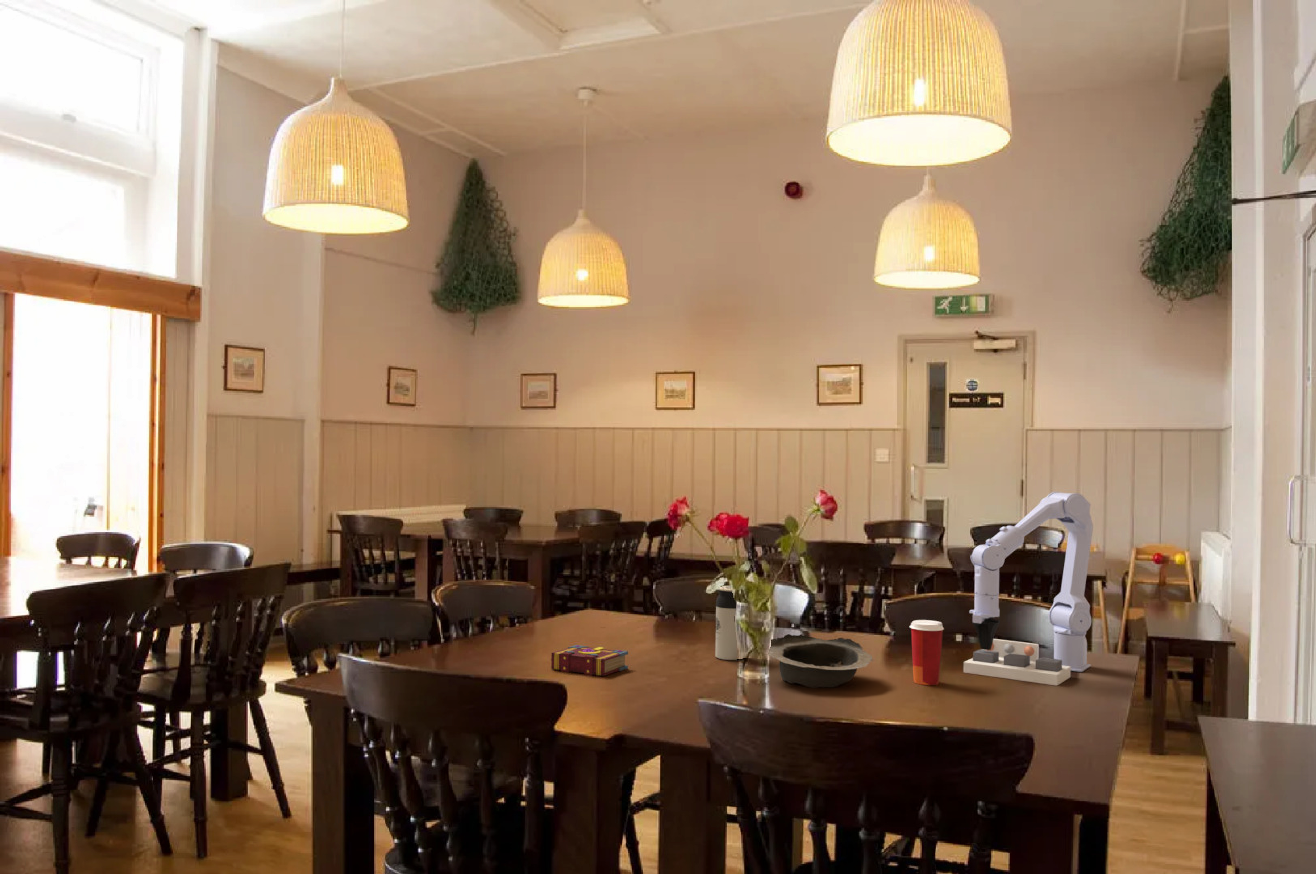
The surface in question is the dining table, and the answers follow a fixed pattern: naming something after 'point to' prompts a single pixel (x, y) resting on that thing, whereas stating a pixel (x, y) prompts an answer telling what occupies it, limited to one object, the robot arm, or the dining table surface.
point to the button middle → (1017, 660)
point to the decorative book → (589, 660)
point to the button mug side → (986, 656)
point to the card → (1015, 648)
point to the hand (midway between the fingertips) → (985, 649)
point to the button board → (1017, 672)
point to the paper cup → (926, 651)
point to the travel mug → (725, 625)
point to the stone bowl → (818, 660)
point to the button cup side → (1049, 664)
